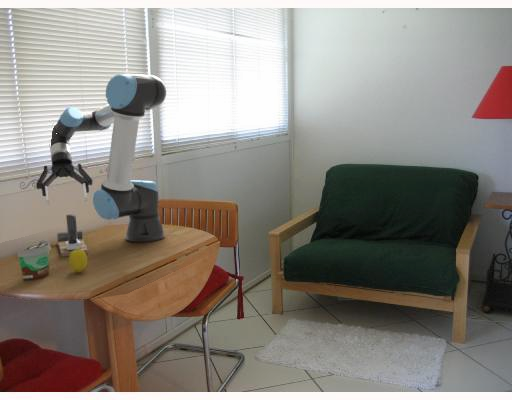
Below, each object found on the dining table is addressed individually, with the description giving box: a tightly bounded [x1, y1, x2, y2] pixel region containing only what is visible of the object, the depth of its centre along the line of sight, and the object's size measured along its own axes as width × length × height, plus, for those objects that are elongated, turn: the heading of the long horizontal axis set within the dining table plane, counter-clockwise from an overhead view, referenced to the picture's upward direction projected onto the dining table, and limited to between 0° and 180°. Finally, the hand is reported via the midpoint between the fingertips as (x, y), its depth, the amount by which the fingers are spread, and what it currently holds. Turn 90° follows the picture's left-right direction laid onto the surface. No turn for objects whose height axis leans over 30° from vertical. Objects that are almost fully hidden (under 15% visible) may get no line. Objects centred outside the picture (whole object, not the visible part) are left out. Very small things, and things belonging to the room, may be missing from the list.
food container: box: [17, 240, 52, 282], centre depth 169 cm, size 12×6×10 cm, turn 168°
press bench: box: [56, 229, 89, 258], centre depth 202 cm, size 20×9×4 cm, turn 23°
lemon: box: [68, 248, 88, 273], centre depth 172 cm, size 6×6×8 cm
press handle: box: [65, 213, 81, 250], centre depth 195 cm, size 5×5×12 cm
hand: (67, 200), depth 203 cm, fingers open, 13 cm apart
